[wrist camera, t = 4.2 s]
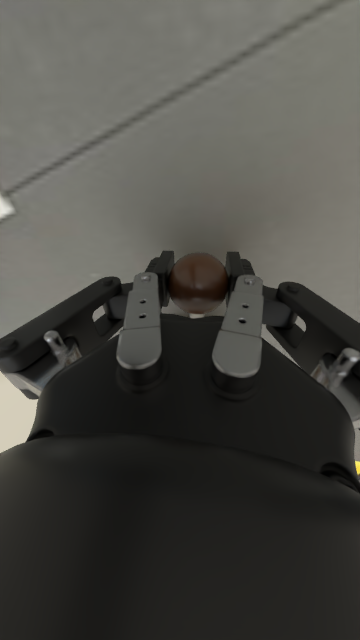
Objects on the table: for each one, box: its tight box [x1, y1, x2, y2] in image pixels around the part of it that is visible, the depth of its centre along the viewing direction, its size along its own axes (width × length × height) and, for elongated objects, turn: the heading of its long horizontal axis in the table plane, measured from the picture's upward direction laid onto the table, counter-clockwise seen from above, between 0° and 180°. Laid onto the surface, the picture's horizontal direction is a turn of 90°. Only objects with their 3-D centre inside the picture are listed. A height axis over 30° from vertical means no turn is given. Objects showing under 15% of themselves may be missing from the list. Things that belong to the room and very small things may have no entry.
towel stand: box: [168, 252, 229, 318], centre depth 19 cm, size 23×7×7 cm, turn 1°
